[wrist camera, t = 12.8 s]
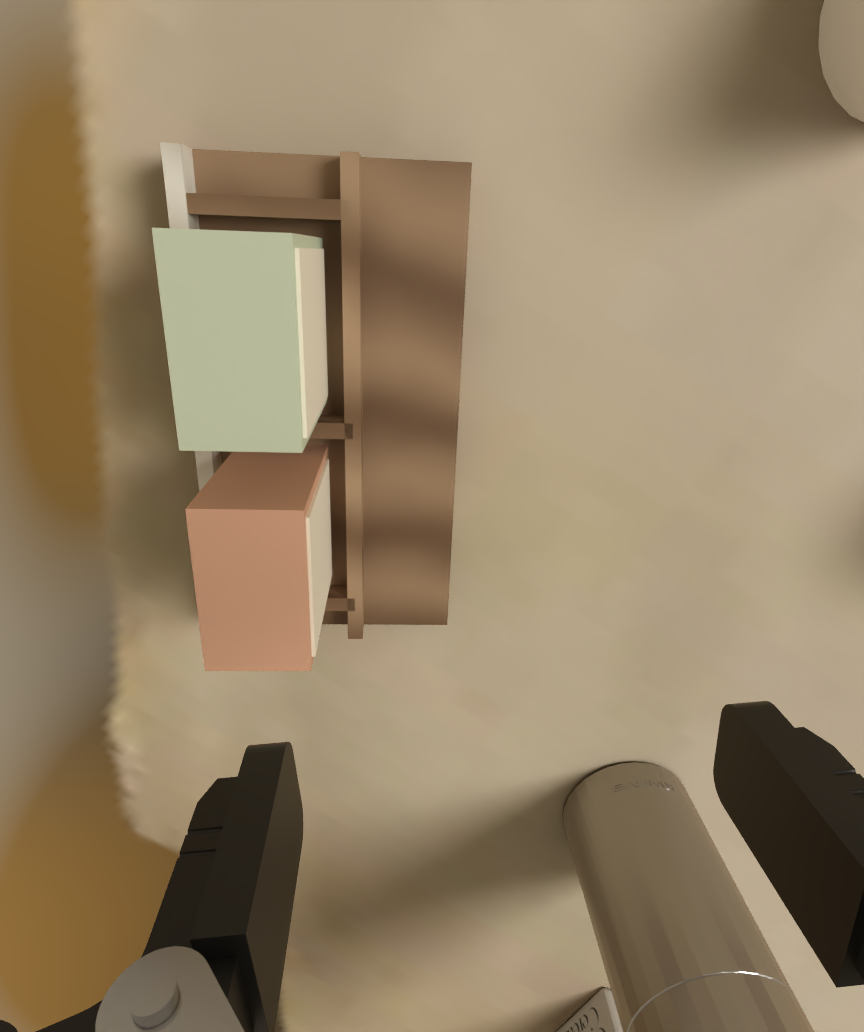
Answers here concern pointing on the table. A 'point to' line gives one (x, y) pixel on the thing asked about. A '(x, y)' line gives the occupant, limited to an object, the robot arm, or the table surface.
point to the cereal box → (595, 1015)
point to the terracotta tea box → (262, 559)
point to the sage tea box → (243, 337)
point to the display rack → (365, 351)
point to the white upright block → (843, 53)
